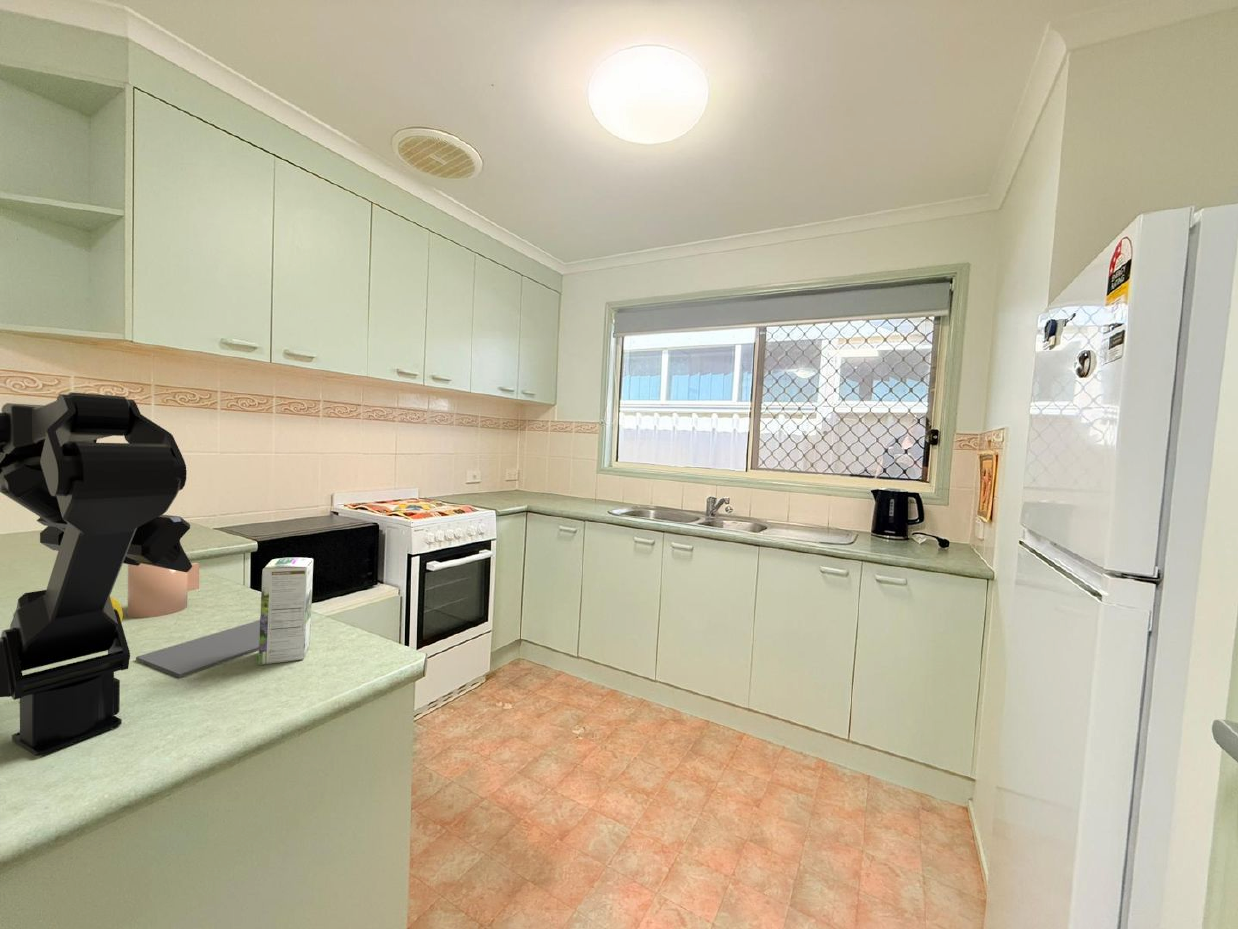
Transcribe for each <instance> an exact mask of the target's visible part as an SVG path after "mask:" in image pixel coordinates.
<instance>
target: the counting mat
mask: <svg viewBox="0 0 1238 929" xmlns="http://www.w3.org/2000/svg"><path fill="white" fill-rule="evenodd" d="M259 638H260V619H259V620H254V621H252V622H248V623H245V624H242V625H239V626H236V627H232V628H231V627H230V628H228V629H224V630H222V631H218V632H215V633H211V634H209V635H205V636H202V637H198V638H195V639H192V640H188V641H186V642H181V643H178V644H175V645H171V646H168V647H164V648H161V649H158V650H154V651H151V652H148V653H144V654H141V655H138V656H135V661H137V662H140V663H142V664H144V665H147V666H149V667H152V668H154V669H156V670H159V671H162V672H164V673H167V674H169V675H172V676H174V677H177V678H180V679H181V678H184V677H186V676H190V675H192V674H195V673H197V672H200V671H203V670H207V669H209V668H212V667H215V666H218V665H221V664H223V663H226V662H229V661H231V660H235V659H238V658H240V657H243V656H246V655H250V654H252V653H255V652H259Z"/></svg>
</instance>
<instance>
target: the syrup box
mask: <svg viewBox="0 0 1238 929" xmlns="http://www.w3.org/2000/svg"><path fill="white" fill-rule="evenodd" d="M313 574H314V558H312V557H310V558H309V557H282V558H281V557H280V558H274V559H271V560H270V561H269V562H268V563H267V564H266V566H265V567H264V568H262V572H261V594H260V595H261V596H260V615H259V616H260V617H259V618H260V619H259V620H260V638H259V650H258V662H257V663H258V665H269V664H277V663H285V662H293V661H300V660H304V659H305V657H306V654H307V651H308V649H309V647H310V644H311V622H312V621H311V620H312V606H313V605H312V602H313V601H312V600H313V577H314V576H313Z"/></svg>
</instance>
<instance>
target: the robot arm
mask: <svg viewBox="0 0 1238 929" xmlns="http://www.w3.org/2000/svg"><path fill="white" fill-rule="evenodd" d="M56 397H57V398H56V400H55V401H52V402H49V403H46V404H43V405H42V404H31V403H30V404H29V403H28V404H27V403H14V402H13V403H11V402H6V403H5V404H2V407H1V412H0V493H1V494H3V495H4V496H6V497H7V498H8V499H11V500H12V501H14V502H15V503H16V504H19V505H20V506H21V507H23V508H24V509H27V510H28V511H30V512H32V513H33V514H35V515H36V516H38V517H39V518H38V519H36V522H37V523H39V524H41V525H43V526H46V527H45V528H44V529H43V530H42V531H41V532H39V543H40V544H42V545H43V546H46V547H47V548H49V549H51V550H52V551H56V552H57V555H56V558H55V561H54V565H53V568H52V570H51V574H50V577H49V580H48V583H47V586H46V589H43V590H42V589H41V590H37V591H35V590H34V591H29V592H25V593H23V594H22V595H20V596H19V597H18V600H17V603H16V609H15V611H14V613H12V614H13V615H12V620H11V622H10V626H9V628H7V629H3V630H2V631H1V635H0V698H12V699H13V700H14V701H16V700H19V732H16V733H13V734H12V735H11V741H13V742H14V743H16V744H18V745H19V746H21V747H22V748H24V749H26V750H27V751H29V752H31V753H32V754H34V755H35V756H39V757H40V756H45V755H47V754H50V753H53V752H55V751H57V750H59V749H62V748H66V747H67V746H71V745H73V744H75V743H78V742H80V741H83V740H86V739H88V738H91V737H93V736H96V735H98V734H101V733H104V732H106V731H109V730H112V729H114V728H116V727H119V726H121V725H122V722H123V721H122V718H120V717H118V716H117V715H119V713H120V704H121V702H120V701H121V700H120V698H121V697H120V696H121V695H120V690H121V688H120V687H121V686H120V685H121V684H120V683H121V680H120V679H119V678H116V677H115V672H118V671H125V670H128V669H129V666H130V659H131V653H130V652H131V650H130V648H129V646H128V645H129V644H128V642H127V638H126V634H125V631H124V628H123V627H124V626H123V624H122V622H121V620H120V616H119V613H118V611H117V610H116V609H113V606H112V602H111V599H110V597H111V594H112V592H113V588H114V587H115V584H116V581H117V579H118V576H119V574H120V571H121V569H122V566H123V564H126V565H128V564H130V565H135V566H138V565H140V564H146V565H151V566H156V567H161V568H166V569H171V570H176V571H181V572H188V571H189V570H190V569H191V568H192V564H191V563H192V562H191V561H190V559H189V557H188V556H187V554H186V552H185V551H184V548H183V546H182V543H181V539H182V538H183V536H185V535H186V533H187V532H188V531H190V529H191V523H189V522H187V521H186V520H185V519H184V518H182V517H181V516H179V515H178V516H177V515H169V514H165V513H166V512H167V511H168V510H169V508H171V505H172V504H173V502H174V501H175V499H176V498H177V496H178V494H179V491H182V490H183V489H184V487H185V486H186V482H187V474H188V473H187V465H186V462H185V459H184V456H183V455H182V453H181V450H180V448H179V445H178V444H177V442H176V440H175V438H174V435H173V434H172V433H171V432H170V431H168V430H166V429H165V428H163V427H162V426H160V425H159V424H157V423H155V422H154V421H153V420H151V419H149V418H147V417H146V416H144V415H143V414H141V411H140V409H139V407H138V404H137V403H136V401H135V399H131V398H130V399H128V398H127V397H126V396H122V395H110V394H100V393H99V394H96V393H85V392H74V391H71V392H69V393H66V394H65V393H63V394H62V393H59V394H58V396H56ZM113 436H114V437H116V436H117V437H124V439H125V441H126V442H127V443H126V442H121V443H120V442H97V441H98V440H100V439H103V438H108V437H109V438H110V437H113ZM103 652H107V654H104V655H98V656H96V657H91V658H86V659H82V660H79V661H75V662H71V663H68V664H63V665H59V666H56V667H55V666H54V667H51V668H47V669H43V670H39V671H34V672H30V673H26V674H23V672H24V671H27V670H28V671H29V670H33V669H37V668H40V667H41V668H42V667H45V666H48V665H49V666H51V665H53V664H54V665H55V664H58V663H61V662H66V661H69V660H75V659H79V658H81V657H86V656H91V655H95V654H100V653H103Z"/></svg>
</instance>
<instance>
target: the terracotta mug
mask: <svg viewBox="0 0 1238 929" xmlns="http://www.w3.org/2000/svg"><path fill="white" fill-rule="evenodd" d="M191 564H192V568H191V569H190V570H189V571H188V572H181V571H176V570H171V569H166V568H161V567H156V566H151V565H146V564H140V565H138V566H135V565H130V564H127V612H126V613H127V616H128V617H129V618H134V619H147V618H156V617H163V616H168V615H172V614H174V613H179V612H182V611H184V610H185V609H187V608H188V599H189V598H188V596H189V595H188V592H191V591H195V590H199V589H200V563H198V562H193V563H192V562H191Z"/></svg>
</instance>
